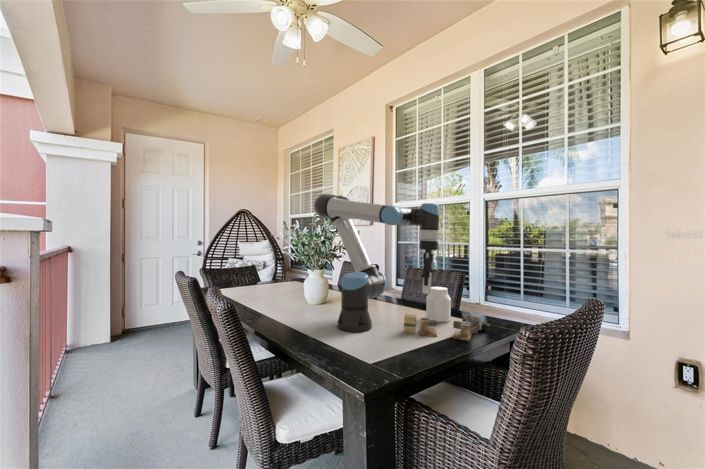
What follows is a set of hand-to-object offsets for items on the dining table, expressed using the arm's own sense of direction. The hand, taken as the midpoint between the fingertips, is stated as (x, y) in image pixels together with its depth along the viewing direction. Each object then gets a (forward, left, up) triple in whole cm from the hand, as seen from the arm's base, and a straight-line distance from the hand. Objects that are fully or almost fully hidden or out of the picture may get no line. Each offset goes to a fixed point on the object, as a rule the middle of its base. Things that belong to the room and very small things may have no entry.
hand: (426, 290), depth 139 cm
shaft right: (+14, -2, -17) cm, 23 cm away
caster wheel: (+19, +8, -18) cm, 28 cm away
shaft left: (+1, -2, -17) cm, 18 cm away
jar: (+4, +21, -18) cm, 27 cm away
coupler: (-6, -3, -17) cm, 19 cm away
